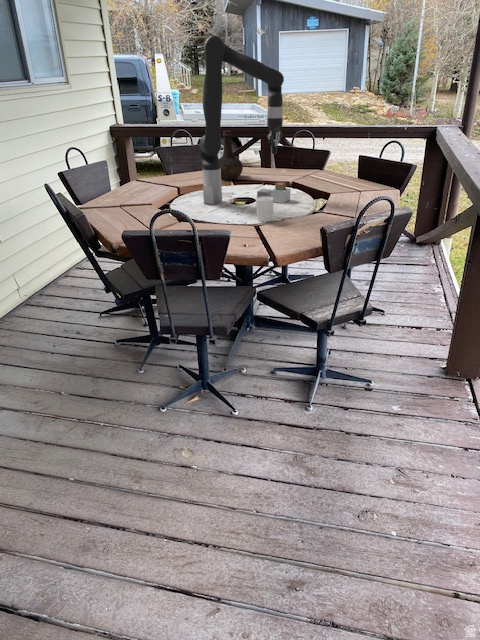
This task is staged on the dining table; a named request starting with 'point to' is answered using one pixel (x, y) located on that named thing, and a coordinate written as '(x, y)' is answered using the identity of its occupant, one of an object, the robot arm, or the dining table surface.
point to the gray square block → (264, 193)
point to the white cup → (264, 208)
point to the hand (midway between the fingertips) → (274, 153)
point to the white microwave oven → (280, 195)
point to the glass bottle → (229, 160)
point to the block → (280, 186)
